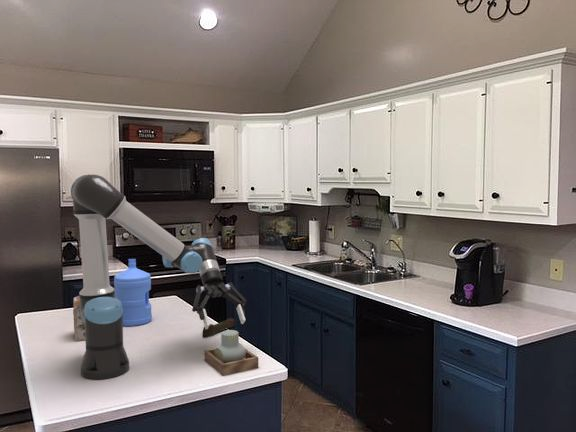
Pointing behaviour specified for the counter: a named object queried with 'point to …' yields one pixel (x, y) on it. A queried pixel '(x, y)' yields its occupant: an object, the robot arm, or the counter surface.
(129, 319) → the water jug
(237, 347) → the air freshener
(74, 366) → the counter surface
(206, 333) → the hand tool
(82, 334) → the decorative jar
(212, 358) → the tray
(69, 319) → the counter surface
